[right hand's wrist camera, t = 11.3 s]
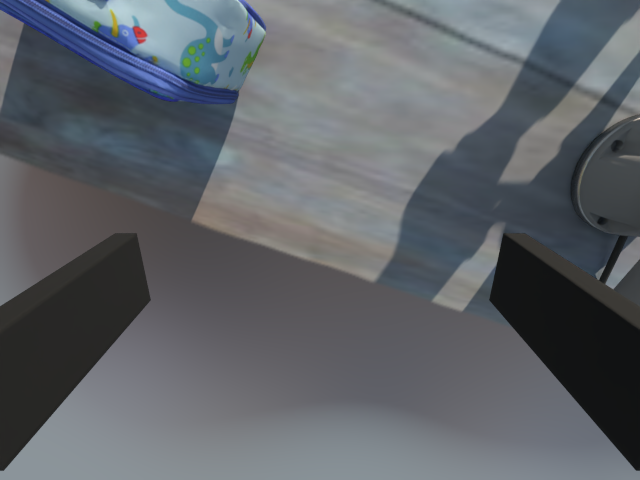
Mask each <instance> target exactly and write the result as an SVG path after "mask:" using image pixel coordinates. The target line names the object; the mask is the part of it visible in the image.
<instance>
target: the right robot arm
mask: <svg viewBox="0 0 640 480" xmlns="http://www.w3.org/2000/svg"><path fill="white" fill-rule="evenodd" d="M571 197H572V202H573V205H574V208H575V210H576V212H577V214H578V215H579V216H580V218H581V219H582V220H583V221H585V222H586V223H587V224H589V225H590V226H592V227H595V228H597V229H599V230H601V231H604V232H607V233H610V234H616V235H620V236H619V238H618V241H617V243H616V245H615V247H614V250H613V252H612V254H611V256H610V258H609V261H608V263H607V265H606V267H605V269H604V271H603V273H602V275H601V277H600V280H597V279H596V278H594V277H593V276H591V275H590V274H588V273H586V272H585V271H583V270H582V269H580V268H578V267H577V266H575V265H574V264H572V263H571V262H569V261H567V260H566V259H564V258H563V257H561V256H560V255H558V254H556V253H555V252H553V251H552V250H550V249H549V248H547V247H545V246H544V245H542V244H541V243H539V242H537V241H536V240H534V239H533V238H531V237H530V236H528V235H526V234H525V233H503V238H502V243H501V247H500V252H499V257H498V262H497V266H496V271H495V276H494V281H493V285H492V290H491V295H490V299H489V300H490V301H491V303H492V304H493V305H494V306H495V307H496V308H497V310H498V311H499V312H500V313H501V314H502V315H503V317H504V318H505V319H506V320H507V321H508V322H509V323H510V325H511V326H512V327H513V328H514V329H515V330H516V332H517V333H518V334H519V335H520V336H521V337H522V338H523V340H524V341H525V342H526V343H527V344H528V346H529V347H530V348H531V349H532V350H533V351H534V352H535V354H536V355H537V356H538V357H539V358H540V359H541V361H542V362H543V363H544V364H545V365H546V366H547V368H548V369H549V370H550V371H551V372H552V373H553V375H554V376H555V377H556V378H557V379H558V380H559V382H560V383H561V384H562V385H563V386H564V387H565V388H566V390H567V391H568V392H569V393H570V394H571V395H572V397H573V398H574V399H575V400H576V401H577V402H578V403H579V405H580V406H581V407H582V408H583V409H584V411H585V412H586V413H587V414H588V415H589V416H590V417H591V419H592V420H593V421H594V422H595V423H596V424H597V426H598V427H599V428H600V429H601V430H602V431H603V433H604V434H605V435H606V436H607V437H608V438H609V440H610V441H611V442H612V443H613V444H614V445H615V446H616V448H617V449H618V450H619V451H620V452H621V453H622V455H623V456H624V457H625V458H626V459H627V460H628V462H629V463H630V464H631V465H632V466H633V467H634V469H635V470H637V471H640V260H639V261H638V262H637V263H636V264H635V265H634V266H633V268H632V269H631V270H630V271H629V272H628V273H627V274H626V276H625V277H624V278H623V279H622V280H621V281H620V282H619V284H618V285H617V286H616V287H615V288H614V289H612V288H610V287H608V286H607V285H605V283H606V281H607V279H608V277H609V275H610V273H611V271H612V269H613V267H614V265H615V263H616V261H617V259H618V257H619V254H620V252H621V250H622V248H623V246H624V244H625V241H626V239H627V237H628V236H638V237H640V115H636V116H632V117H630V118H627V119H624V120H622V121H620V122H618V123H616V124H615V125H613V126H611V127H610V128H608V129H607V130H606V131H604V132H603V133H602V134H601V135H599V136H598V137H597V138H596V139H595V140H594V141H593V142H592V143H591V145H590V146H589V147H588V148H587V149H586V151H585V152H584V154H583V155H582V157H581V159H580V160H579V162H578V164H577V166H576V169H575V172H574V175H573V179H572V185H571ZM149 301H150V295H149V290H148V285H147V281H146V276H145V271H144V267H143V262H142V257H141V252H140V248H139V243H138V238H137V234H133V233H132V234H131V233H128V234H127V233H126V234H122V233H121V234H120V233H119V234H118V233H117V234H114V235H112V236H110V237H109V238H107V239H106V240H104V241H103V242H101V243H99V244H98V245H96V246H95V247H93V248H92V249H90V250H88V251H87V252H85V253H84V254H82V255H81V256H79V257H77V258H76V259H74V260H73V261H71V262H69V263H68V264H66V265H65V266H63V267H62V268H60V269H58V270H57V271H55V272H54V273H52V274H50V275H49V276H47V277H46V278H44V279H43V280H41V281H39V282H38V283H36V284H35V285H33V286H32V287H30V288H28V289H27V290H25V291H24V292H22V293H21V294H19V295H17V296H16V297H14V298H13V299H11V300H10V301H8V302H6V303H5V304H3V305H2V306H0V471H4V470H5V468H6V467H7V466H8V465H9V464H10V463H11V462H12V460H13V459H14V458H15V457H16V456H17V455H18V453H19V452H20V451H21V450H22V449H23V448H24V446H25V445H26V444H27V443H28V442H29V441H30V440H31V438H32V437H33V436H34V435H35V434H36V433H37V431H38V430H39V429H40V428H41V427H42V426H43V424H44V423H45V422H46V421H47V420H48V419H49V417H50V416H51V415H52V414H53V413H54V412H55V411H56V409H57V408H58V407H59V406H60V405H61V404H62V402H63V401H64V400H65V399H66V398H67V397H68V395H69V394H70V393H71V392H72V391H73V390H74V388H75V387H76V386H77V385H78V384H79V383H80V381H81V380H82V379H83V378H84V377H85V376H86V375H87V373H88V372H89V371H90V370H91V369H92V368H93V366H94V365H95V364H96V363H97V362H98V361H99V359H100V358H101V357H102V356H103V355H104V354H105V352H106V351H107V350H108V349H109V348H110V347H111V345H112V344H113V343H114V342H115V341H116V340H117V339H118V337H119V336H120V335H121V334H122V333H123V332H124V330H125V329H126V328H127V327H128V326H129V325H130V323H131V322H132V321H133V320H134V319H135V318H136V316H137V315H138V314H139V313H140V312H141V311H142V310H143V308H144V307H145V306H146V305H147V304H148V303H149Z"/></svg>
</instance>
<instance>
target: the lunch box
mask: <svg viewBox="0 0 640 480" xmlns="http://www.w3.org/2000/svg"><path fill="white" fill-rule="evenodd" d="M0 10H2V11H4V12H6V13H7V14H9V15H11V16H13V17H14V18H16V19H18V20H20V21H22V22H23V23H25V24H27V25H29V26H30V27H32V28H34V29H36V30H37V31H39V32H41V33H43V34H44V35H46V36H48V37H49V38H51V39H53V40H54V41H56V42H57V43H59V44H61V45H63V46H64V47H66V48H68V49H70V50H71V51H73V52H75V53H76V54H78V55H80V56H81V57H83V58H85V59H86V60H88V61H90V62H91V63H93V64H95V65H97V66H98V67H100V68H102V69H104V70H105V71H107V72H109V73H111V74H112V75H114V76H116V77H118V78H119V79H121V80H123V81H125V82H127V83H129V84H131V85H133V86H135V87H136V88H138V89H140V90H143V91H145V92H147V93H149V94H150V95H152V96H154V97H157V98H159V99H162V100H166V101H173V102H177V101H187V102H192V103H201V104H231V103H234V102H235V99H237V97H238V92H237V91H238V90H239V89H240V88H241V87H242V85H243V82H244V80H245V78H246V76H247V74H248V72H249V70H250V68H251V66H252V64H253V62H254V60H255V58H256V56H257V53H258V50H259V48H260V46H261V44H262V42H263V40H264V38H265V36H266V32H265V31H266V26H265V24H264V22H263V20H262V19H261V17H260V16H259V15H258V14H257V13H256V11H255V10H254V9H253V8H252V7H251V6H250V5H249V4H248V3H247V2H246V1H244V0H0Z"/></svg>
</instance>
